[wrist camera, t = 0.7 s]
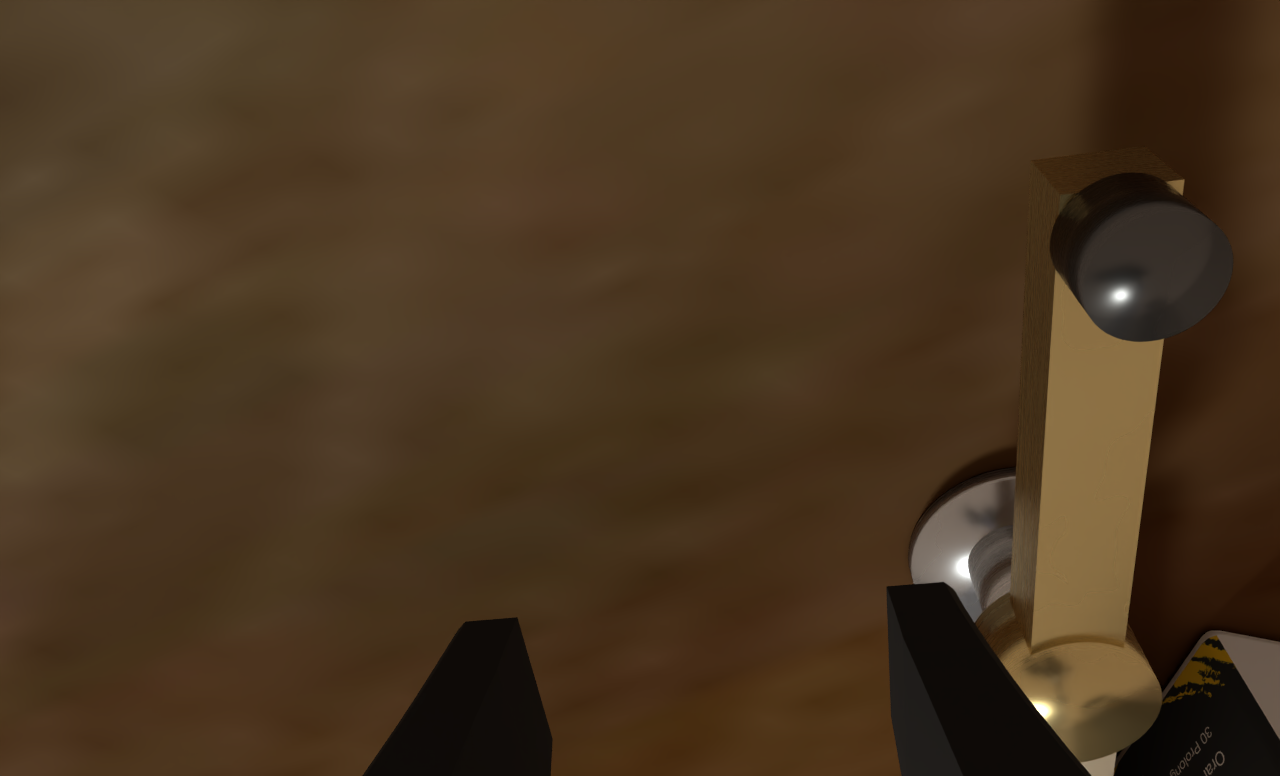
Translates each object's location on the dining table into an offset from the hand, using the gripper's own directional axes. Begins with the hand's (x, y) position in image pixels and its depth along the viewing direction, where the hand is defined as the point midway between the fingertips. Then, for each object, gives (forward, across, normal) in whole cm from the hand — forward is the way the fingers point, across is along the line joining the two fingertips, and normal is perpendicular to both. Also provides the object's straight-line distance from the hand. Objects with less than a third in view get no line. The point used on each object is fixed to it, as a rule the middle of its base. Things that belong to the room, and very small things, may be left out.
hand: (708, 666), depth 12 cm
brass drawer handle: (+7, -6, +3) cm, 9 cm away
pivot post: (+9, -6, +7) cm, 13 cm away
